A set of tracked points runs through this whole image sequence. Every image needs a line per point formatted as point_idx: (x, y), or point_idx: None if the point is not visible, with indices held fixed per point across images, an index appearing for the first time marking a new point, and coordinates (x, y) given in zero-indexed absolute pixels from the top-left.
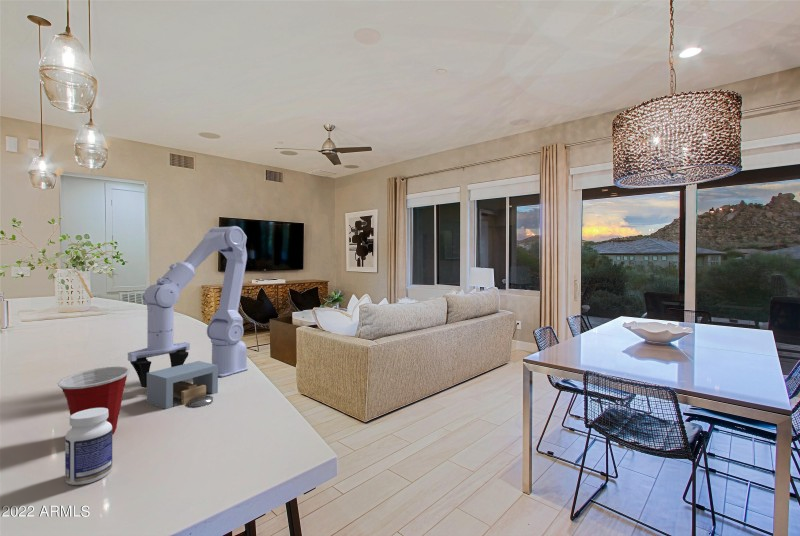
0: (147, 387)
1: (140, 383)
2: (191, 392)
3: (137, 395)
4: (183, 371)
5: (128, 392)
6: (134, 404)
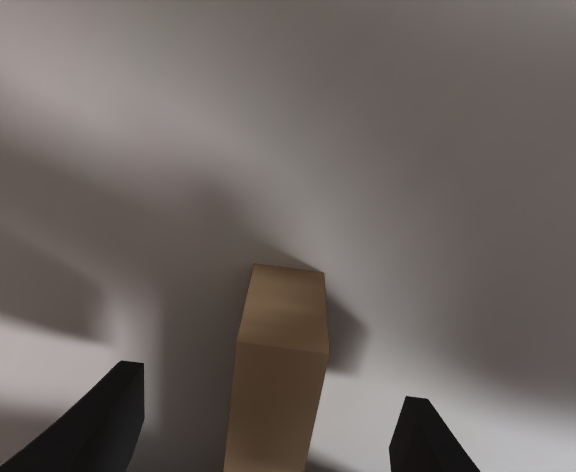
0: None
1: (101, 380)
2: None
3: (114, 314)
4: None
5: (109, 182)
6: (21, 434)
